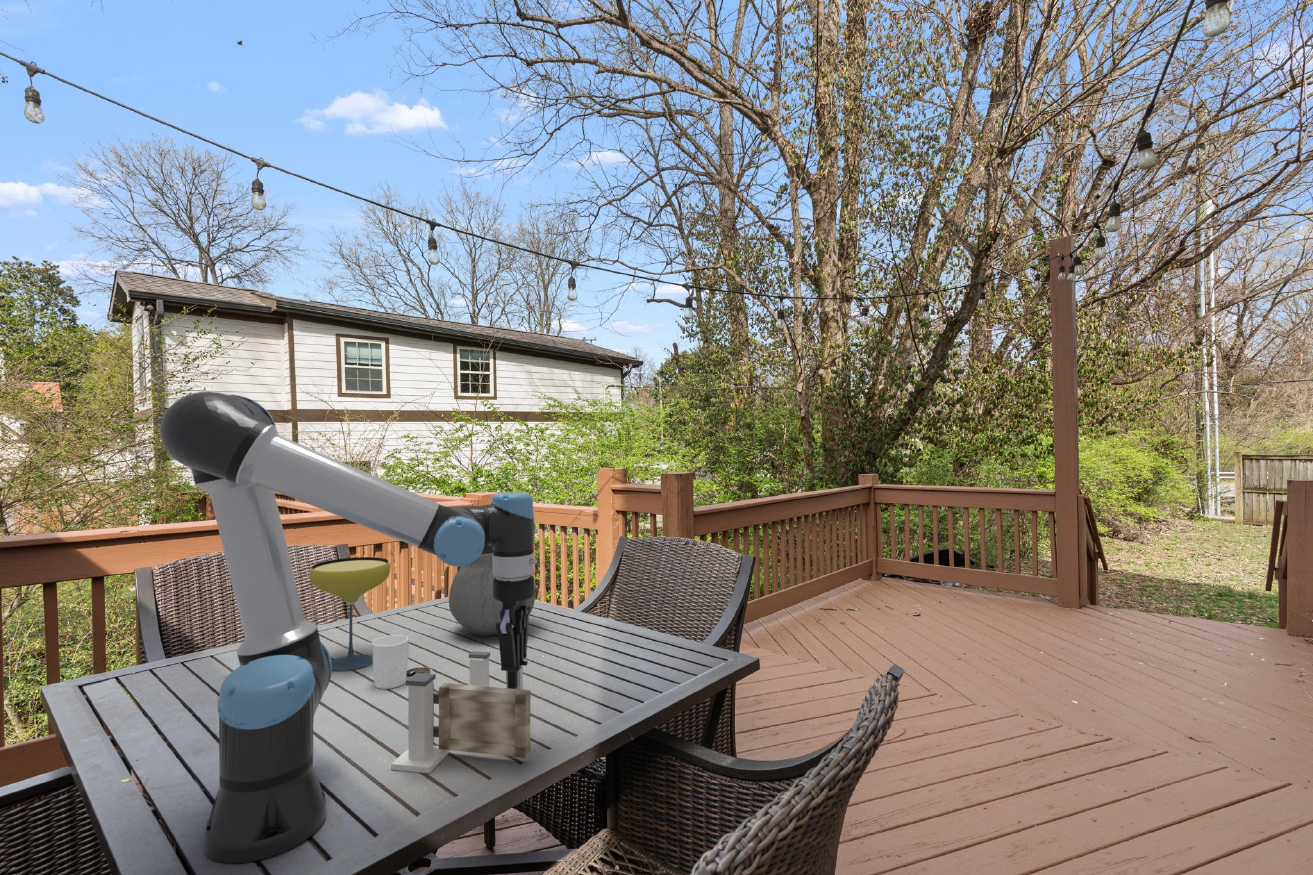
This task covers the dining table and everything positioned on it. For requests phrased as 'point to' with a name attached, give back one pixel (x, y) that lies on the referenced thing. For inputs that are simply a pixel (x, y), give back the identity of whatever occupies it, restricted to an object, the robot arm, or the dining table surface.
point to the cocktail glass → (350, 593)
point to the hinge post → (420, 728)
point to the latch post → (479, 668)
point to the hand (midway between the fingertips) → (514, 702)
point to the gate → (483, 719)
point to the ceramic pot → (477, 596)
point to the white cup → (390, 661)
